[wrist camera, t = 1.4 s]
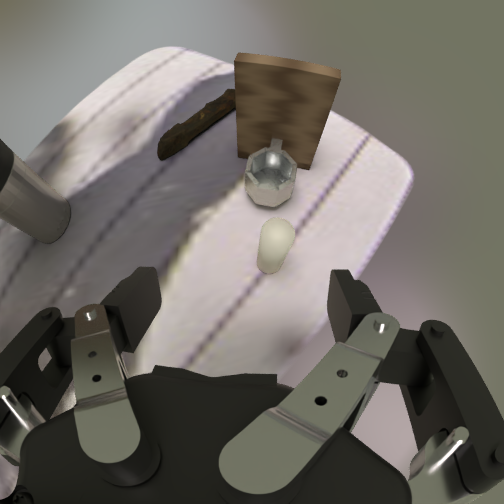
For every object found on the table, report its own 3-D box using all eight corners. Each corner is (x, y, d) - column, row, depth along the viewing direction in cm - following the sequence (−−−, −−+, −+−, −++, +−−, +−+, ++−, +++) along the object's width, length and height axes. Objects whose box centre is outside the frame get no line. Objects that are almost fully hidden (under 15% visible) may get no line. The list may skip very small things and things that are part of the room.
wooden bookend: (237, 157, 45) (234, 60, 25) (245, 131, 46) (245, 38, 27) (309, 170, 44) (340, 79, 25) (311, 143, 46) (339, 54, 27)
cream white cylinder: (254, 271, 39) (258, 246, 28) (259, 248, 40) (264, 214, 29) (279, 276, 39) (292, 253, 28) (283, 252, 40) (296, 221, 29)
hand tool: (229, 98, 49) (228, 82, 45) (244, 107, 48) (243, 90, 44) (152, 154, 45) (145, 138, 41) (165, 165, 45) (158, 150, 40)
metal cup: (242, 201, 40) (242, 184, 35) (253, 152, 43) (254, 133, 38) (288, 209, 40) (293, 193, 35) (295, 160, 42) (300, 141, 38)
